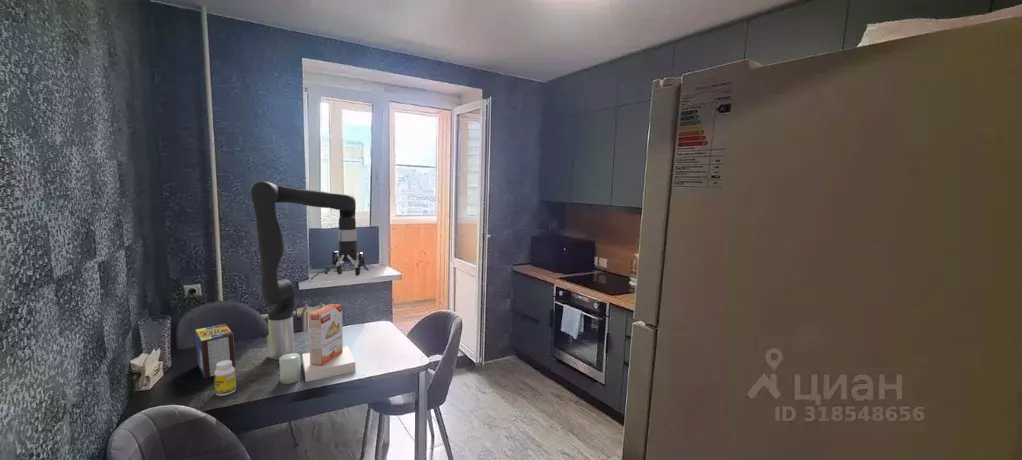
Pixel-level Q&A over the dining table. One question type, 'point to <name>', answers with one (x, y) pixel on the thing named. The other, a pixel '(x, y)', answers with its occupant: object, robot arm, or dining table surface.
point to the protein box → (214, 348)
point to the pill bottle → (224, 378)
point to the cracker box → (325, 334)
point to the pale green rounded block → (290, 368)
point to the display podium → (329, 366)
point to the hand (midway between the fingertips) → (348, 274)
